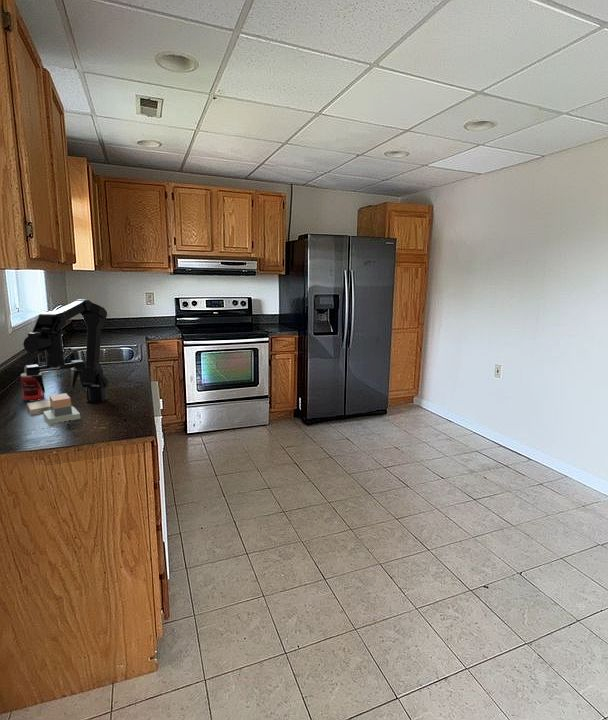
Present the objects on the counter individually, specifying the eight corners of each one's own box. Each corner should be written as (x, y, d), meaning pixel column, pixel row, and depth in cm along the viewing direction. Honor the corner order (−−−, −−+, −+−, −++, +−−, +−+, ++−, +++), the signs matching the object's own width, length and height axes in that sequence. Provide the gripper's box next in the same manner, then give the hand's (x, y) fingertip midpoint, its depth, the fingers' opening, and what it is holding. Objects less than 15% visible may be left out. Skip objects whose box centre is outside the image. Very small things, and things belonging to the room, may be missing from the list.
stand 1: (59, 403, 172) (58, 398, 171) (64, 409, 164) (63, 404, 164) (27, 408, 165) (26, 403, 165) (31, 414, 157) (30, 409, 157)
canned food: (40, 394, 183) (37, 370, 181) (47, 398, 178) (44, 373, 176) (20, 398, 177) (17, 373, 175) (27, 402, 172) (24, 376, 170)
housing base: (50, 411, 156) (50, 403, 155) (67, 408, 159) (66, 400, 158) (55, 416, 150) (54, 408, 149) (72, 413, 153) (71, 405, 152)
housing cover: (50, 403, 155) (49, 395, 154) (66, 400, 158) (66, 393, 158) (54, 408, 149) (53, 400, 148) (71, 405, 152) (70, 398, 152)
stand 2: (43, 416, 156) (43, 411, 155) (73, 411, 162) (73, 406, 162) (49, 424, 147) (48, 419, 147) (80, 418, 154) (79, 413, 153)
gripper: (77, 343, 161) (81, 382, 164) (19, 347, 150) (25, 389, 153) (84, 346, 153) (88, 388, 156) (24, 352, 141) (29, 396, 144)
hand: (58, 390), depth 152 cm, fingers open, 9 cm apart
